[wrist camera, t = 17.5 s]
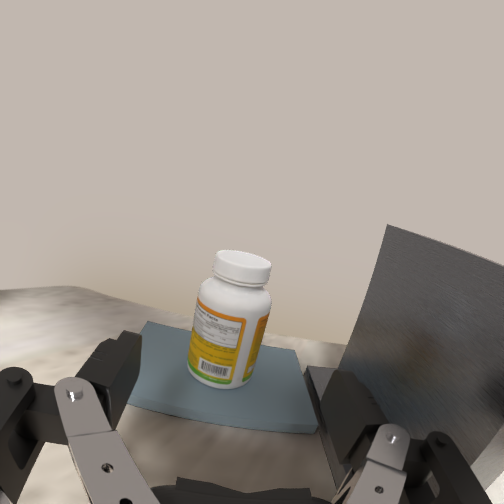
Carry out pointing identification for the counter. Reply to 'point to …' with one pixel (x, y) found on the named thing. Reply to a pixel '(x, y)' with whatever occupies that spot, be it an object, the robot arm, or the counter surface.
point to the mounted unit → (429, 350)
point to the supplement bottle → (230, 320)
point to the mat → (222, 400)
